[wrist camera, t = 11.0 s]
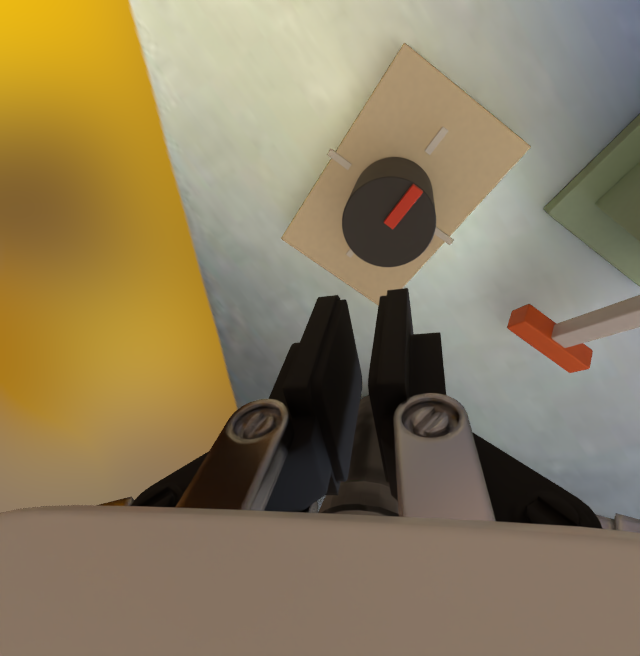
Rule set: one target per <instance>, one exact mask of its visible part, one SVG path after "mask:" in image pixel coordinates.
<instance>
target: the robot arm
mask: <svg viewBox="0 0 640 656" xmlns="http://www.w3.org/2000/svg"><path fill="white" fill-rule="evenodd" d="M368 388H369V397H370V402H371V407H372V412H373V418H374V423H375V428H376V433H377V438H378V443H379V448H380V453H381V459H382V464H383V469H384V474H385V479H386V482H387V483H389V486H390V491H391V495H392V496H393V497H394V498H395V499H396V500H397V501H398V511H399V517H393V516H372V515H350V514H326V513H318V502H317V500H319V499H320V498H321V497H323V496H324V495H338V492H339V487H340V482H346V481H347V479H348V474H349V467H350V461H351V454H352V448H353V442H354V435H355V429H356V423H357V416H358V410H359V404H360V397H361V391H362V375H361V369H360V364H359V359H358V354H357V349H356V344H355V339H354V334H353V329H352V325H351V320H350V315H349V310H348V305H347V301H346V300H340V298H339V296H338V295H335V296H325V297H318V299H317V301H316V304H315V306H314V309H313V311H312V314H311V316H310V319H309V321H308V324H307V326H306V329H305V331H304V334H303V336H302V339H301V341H300V343H294V344H292V346H291V347H290V350H289V352H288V354H287V357H286V359H285V361H284V364H283V366H282V368H281V371H280V373H279V376H278V378H277V380H276V383H275V385H274V387H273V390H272V392H271V394H270V397H269V399H259V400H256V401H253V402H250V403H248V404H246V405H244V406H242V407H241V408H239V409H238V410H237V411H236V412H234V414H233V415H232V416H231V417H230V418H229V420H228V421H227V423H226V425H225V426H224V428H223V430H222V431H221V433H220V435H219V436H218V438H217V440H216V441H215V443H214V444H213V446H212V448H211V449H210V451H209V452H207V453H205V454H204V455H202V456H200V457H199V458H197V459H195V460H194V461H192V462H190V463H189V464H187V465H185V466H184V467H182V468H180V469H179V470H177V471H175V472H174V473H172V474H170V475H169V476H167V477H165V478H164V479H162V480H160V481H159V482H157V483H155V484H154V485H152V486H150V487H149V488H148V489H146V490H145V491H144V492H142V493H141V494H140V495H139V496H138V497H137V498H136V499H135V500H134V499H133V498H132V497H128V498H124V499H120V500H116V501H112V502H108V503H104V504H100V505H96V506H93V505H71V506H69V505H68V506H41V507H32V508H23V509H16V510H11V511H6V512H1V513H0V656H640V519H636V518H632V517H628V516H624V515H621V514H617V513H616V515H615V519H611V518H607V517H603V516H599V515H596V514H594V512H593V511H592V510H591V509H590V507H589V506H587V505H586V504H585V503H583V502H582V501H581V500H580V499H578V498H577V497H576V496H574V495H572V494H571V493H569V492H568V491H566V490H564V489H563V488H561V487H560V486H558V485H556V484H555V483H553V482H551V481H550V480H548V479H547V478H545V477H543V476H542V475H540V474H539V473H537V472H535V471H534V470H532V469H531V468H529V467H527V466H526V465H524V464H523V463H521V462H519V461H518V460H516V459H514V458H513V457H511V456H510V455H508V454H506V453H505V452H503V451H502V450H500V449H498V448H497V447H495V446H494V445H492V444H490V443H489V442H487V441H486V440H484V439H482V438H481V437H479V436H478V435H476V434H474V433H473V432H472V430H471V426H470V422H469V418H468V415H467V412H466V410H465V408H464V406H463V405H461V404H460V403H459V402H458V401H457V400H455V399H453V398H451V397H449V396H447V395H446V389H445V378H444V367H443V357H442V346H441V335H440V333H427V334H413V326H412V317H411V308H410V300H409V292H408V288H404V289H394V290H387V295H386V296H380V300H379V307H378V314H377V321H376V328H375V335H374V342H373V349H372V356H371V363H370V370H369V378H368Z"/></svg>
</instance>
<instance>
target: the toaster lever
mask: <svg viewBox="0 0 640 656" xmlns="http://www.w3.org/2000/svg"><path fill="white" fill-rule="evenodd" d="M638 327H640V295H638V296H635V297H632V298H630V299H627V300H624V301H621V302H618V303H615V304H612V305H609V306H606V307H604V308H601V309H598V310H595V311H592V312H589V313H586V314H583V315H581V316H578V317H575V318H572V319H569V320H566V321H563V322H560V323H558V324H556V323H555V322H553V321H552V320H551V319H549V318H548V317H547V316H545V315H544V314H543V313H541V312H540V311H539V310H537V309H536V308H535V307H533V306H532V305H530V304H527V305H525V306H523V307H520V308H518V309H515V310H513V311H512V313H511V316H510V319H509V323H508V326H507V328H508V329H509V330H510V331H512V332H513V333H515V334H516V335H517V336H519V337H520V338H521V339H523V340H524V341H526V342H527V343H528V344H530V345H531V346H533V347H534V348H535V349H537V350H538V351H540V352H541V353H542V354H544V355H545V356H547V357H548V358H549V359H551V360H552V361H554V362H555V363H556V364H558V365H559V366H561V367H562V368H563V369H565V370H566V371H567V372H569V373H572V372H577V371H581V370H586V369H589V368H590V364H591V358H592V352H593V351H592V350H591V349H590V348H589V347H587V346H586V345H585V344H583V343H585V342H589V341H592V340H596V339H599V338H603V337H606V336H610V335H613V334H617V333H620V332H624V331H627V330H631V329H635V328H638Z"/></svg>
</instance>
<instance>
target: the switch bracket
mask: <svg viewBox="0 0 640 656" xmlns="http://www.w3.org/2000/svg"><path fill="white" fill-rule="evenodd" d="M544 210H545V211H546V212H547V213H548V214H549V215H550V216H551V217H552V218H554V219H555V220H556V221H558V222H559V223H560V224H561V225H563V226H564V227H565V228H566V229H568V230H569V231H570V232H571V233H573V234H574V235H575V236H576V237H578V238H579V239H580V240H581V241H583V242H584V243H585V244H587V245H588V246H589V247H590V248H592V249H593V250H594V251H595V252H597V253H598V254H599V255H600V256H602V257H603V258H604V259H605V260H607V261H608V262H609V263H610V264H612V265H613V266H614V267H616V268H617V269H618V270H619V271H621V272H622V273H623V274H624V275H626V276H627V277H628V278H629V279H631V280H632V281H633V282H634V283H636V284H637V285H638V286H639V287H640V114H639V115H638V116H637V117H636V118H635V119H634V120H633V121H632V122H631V123H630V124H629V125H628V126H627V127H626V128H625V129H624V130H623V131H622V132H621V133H620V134H619V135H618V136H617V137H616V138H615V139H614V140H613V141H612V142H611V143H610V144H609V145H608V146H607V147H606V148H605V149H604V150H603V151H602V152H601V153H599V154H598V155H597V156H596V157H595V158H594V159H593V160H592V161H591V162H590V163H589V164H588V165H587V166H586V167H585V168H584V169H583V170H582V171H581V172H580V173H579V174H578V175H577V176H576V177H575V178H574V179H573V180H572V181H571V182H570V183H569V184H568V185H567V186H566V187H565V188H564V189H563V190H562V191H561V192H560V193H559V194H558V195H557V196H556V197H555V198H554V199H553V200H552V201H551V202H550V203H549V204H547V205H546V206H545V207H544Z"/></svg>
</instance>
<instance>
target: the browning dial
mask: <svg viewBox="0 0 640 656" xmlns="http://www.w3.org/2000/svg"><path fill="white" fill-rule="evenodd" d="M435 229H436V212H435V204H434V197H433V189H432V185H431V181H430V179H429V177H428V175H427V174H426V172H425V171H424V170H423V169H422V168H421V167H420V166H419V165H418V164H416V163H415V162H413V161H411V160H409V159H406V158H401V157H387V158H383V159H380V160H378V161H376V162H374V163H372V164H371V165H369V166H368V167H367V168H366V169H365V170H364V171H363V172H362V173H361V175H360V176H359V178H358V180H357V182H356V184H355V186H354V188H353V190H352V192H351V195H350V197H349V199H348V201H347V203H346V206H345V208H344V211H343V216H342V230H343V234H344V238H345V240H346V242H347V244H348V246H349V247H350V249H351V250H352V251H353V252H354V253H355V254H356V255H357V256H358V257H359V258H360V259H362V260H363V261H365V262H367V263H369V264H372V265H375V266H379V267H397V266H401V265H404V264H407V263H409V262H411V261H413V260H415V259H416V258H417V257H419V256H420V255H421V254H422V253H423V252H424V251H425V250H426V249H427V247H428V246H429V244H430V243H431V241H432V239H433V236H434V233H435Z"/></svg>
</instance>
